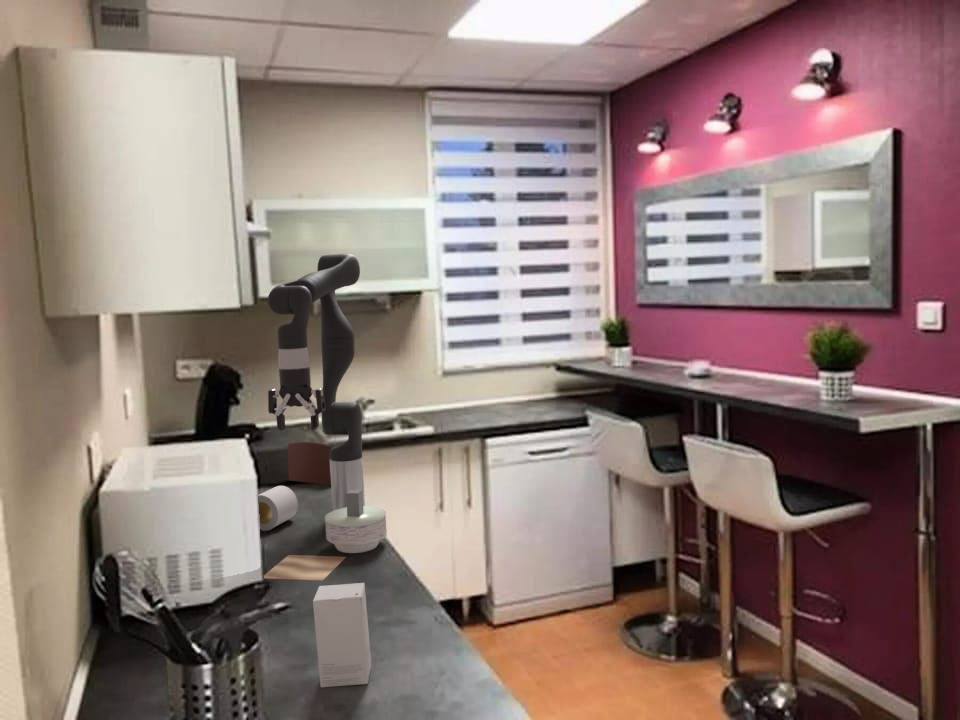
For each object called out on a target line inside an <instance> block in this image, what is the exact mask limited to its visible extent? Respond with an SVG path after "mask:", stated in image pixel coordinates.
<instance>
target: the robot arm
mask: <svg viewBox="0 0 960 720" xmlns="http://www.w3.org/2000/svg"><path fill="white" fill-rule="evenodd" d="M360 268H361V266H360V263H359V261H358V258H357V257H356V256H355V255H353V254H351V253H336V254H335V253H333V254H325V255H321V256H320V257H319V260H318V263H317V271H313V272H310V273H307V274H305V275H304V276H301V277H300V278H297V280H294V281H289V282H285V283H282V284H279V285H276V286H275V287H273V288H272V289H271V290H270V292H269V293H268V297H267V304H268V307H269V309H270V310H271V311H272V313H275V314H277V315H283V316H284V315H293V318H292V320H291V322H289V323H286V324H282V325H280V326H279V327H278V328H277V341H278V344H277V345H278V358H277V359H278V363H277V366H278V376H279V386H280V388H279V389H276V388H272V389H269V390H267V391H268V393H267V395H268V396H267V397H268V399H267V402H268V405H267V406H268V410H267V411H268V414H273V415H275V416H276V427H277V429H279V431H284V430H286V419H285V418H286V417H285V414H284V413H285V411H286V410H287V409H288V407H291V408H292V407H303V408H304V409H305V410H307V411H308V413H309V415H310V428H311V431H316V430H317V429H318V428H319V426H320V421H319V417H320V416H319V415H320V414H321V426H322V429H323V433H325V434H326V435H327V436H328V435H331V436H334V435H335V436H336V435H337V436H343V435H344V436H347V435H348V439H346V441H345V442H343V443H340V444H338V445H336V446H332V447H333V448H331V449H330V452H329V457H330V474H331V485H330V487H331V488H330V489H331V504H332V505H331V506H332V511H334V510H337V509H341V508H345V507H347V501H346V493H347V492H348V491H349V490H362V492H363V506H366V503H365V502H366V501H365V484H364V481H365V480H364V465H363V462H364V461H363V439H362V438H363V436H362V435H363V434H362V429H363V428H362V426H363V419H362V418H363V417H362V415H363V414H362V409H361V406H360V404H359V403H358V402H356V401H348V402H347V401H342V402H341V401H339V402H336V400H337V398H336V397H337V392H338V388H339V385H340V383H341V381H342V380H343V378H344V376H345V374H346V372H347V371H348V370H349V367H350V366H351V365H352V362H353V360H354V357H355V353H356V352H355V332H354V330H353V328H352V326H351V324H350V322H349V321H348V319H347V317H346V316H345V315H344V313H343V312H342V310H341V308H340V306H339V303H338V299H337V295H336V290H339V289H342V288H344V287H349V286H353V285H355V284H357V282H358V280H359V278H360V276H361V269H360ZM318 300H320V301H319V302H320V314H321V315H320V318H321V321H320V322H321V323H320V324H321V334H320V336H321V339H320V340H321V341H320V342H321V343H320V344H321V363H322V387H320V388H317V389H315V388H314V389H313V388H312V385H311V368H310V367H311V366H310V356H309V355H310V353H309V348H308V334H307V332H308V325H309V319H310V314H311V310H312V305H313V303H315V302H316V301H318ZM312 395H313V397H314V398H315V399H316V400H315V401H316V405H315V403H314V402H313V399H311V397H312ZM279 396H280V398H281V400H282V401H281V402H280V404H279V406H278V397H279Z"/></svg>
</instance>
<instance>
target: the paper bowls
mask: <svg viewBox="0 0 960 720" xmlns="http://www.w3.org/2000/svg"><path fill="white" fill-rule="evenodd" d="M324 523H325V538H326V541H328V542H329V543H331V544H333V545H334V546H335V549H336V550H337V551H339V552H340V553H346V554H358V553H359V554H361V553H366V552H370V551H372V550H374V549H375V548H377V546H378V545H379V544H380V542H381V541H382V540H384V539H385V538H386V537H387V531H388V530H387V517H385V518H384V519H383V520H382V521H380V522H377V523H374V524H371V525H366V526H360V527H336V526H332V525H329V524H327V523H326V522H324Z"/></svg>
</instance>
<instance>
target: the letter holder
mask: <svg viewBox="0 0 960 720" xmlns="http://www.w3.org/2000/svg"><path fill="white" fill-rule="evenodd" d="M333 447H334V446H332V445H329V444H325V443H321V442H320V443H318V442H312V441H311V442H310V441H299V442H289V443H288V445H287V459H288V460H287V463H288V481H289V482H290V481H291V482H299V483H307V484H316V485H326V486H331V474H330V457H329V452H330V449H331V448H333Z"/></svg>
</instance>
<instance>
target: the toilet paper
mask: <svg viewBox="0 0 960 720" xmlns="http://www.w3.org/2000/svg"><path fill="white" fill-rule="evenodd" d="M258 503H259V514H260V527H261V530H260V531H262V532H264V531H265V532H267V531H271V530H272V529H274V528H275V527H277V526H279V525H281V524H283V523H285V522H287V521H289V520H290V519H292V518H294V516H296V513H297V511H298V509H299V502H298V497H297V495H296V494H295V492H294V491H293V490H292V489H291V488H289V487H288V486H285V485H277V486H275V487H273V488H270V489H268V490H266V491H263V492H262V493H260V494H259V493H258Z"/></svg>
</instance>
